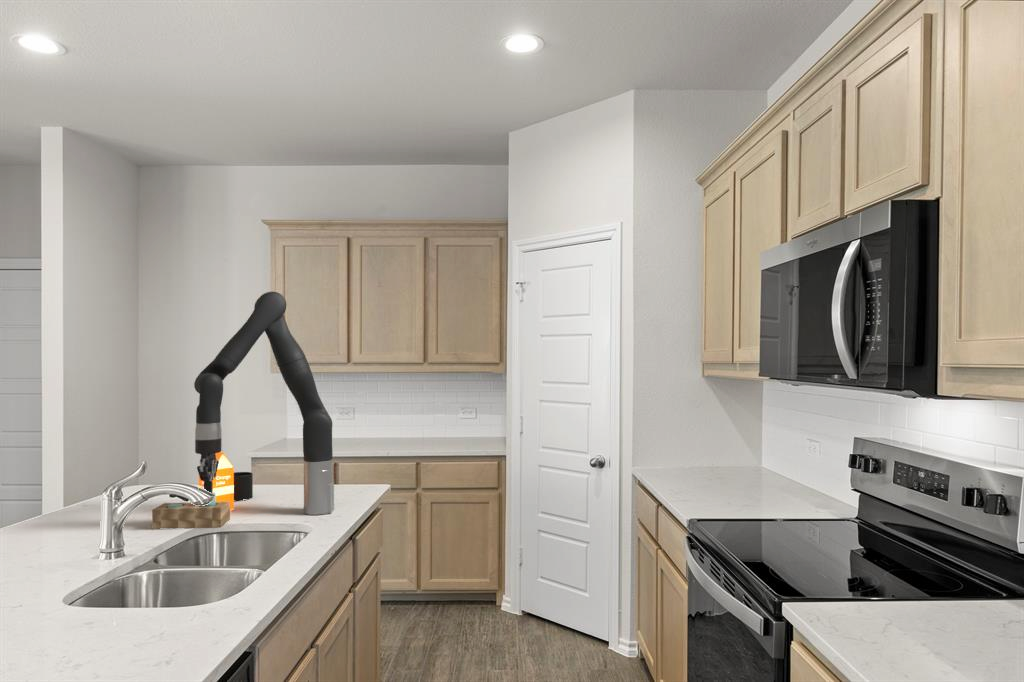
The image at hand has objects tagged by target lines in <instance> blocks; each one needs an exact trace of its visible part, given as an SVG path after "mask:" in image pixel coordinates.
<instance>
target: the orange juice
mask: <svg viewBox="0 0 1024 682" xmlns="http://www.w3.org/2000/svg"><path fill="white" fill-rule="evenodd" d="M216 458H217V460H219V464H218V469H217V473H216V477H215V478H214V480H213V492H215V493H216V502H226V501H230V510H231V509H235V508H234V507H235V506H234V503H235V501H234V473H235V472H234V470H235V469H234V466H233V464H232V463H231V462H230V460H229V459H228V458H227V455H226V454H225V453H224V452H222V451H221V452H219V453H216ZM199 487H203V488H204V482H203V481H201V479H200V476H199V475H198V488H199Z"/></svg>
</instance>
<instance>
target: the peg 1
mask: <svg viewBox="0 0 1024 682" xmlns="http://www.w3.org/2000/svg"><path fill="white" fill-rule="evenodd" d="M175 507H182V504H171V505H168V508H175Z"/></svg>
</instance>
